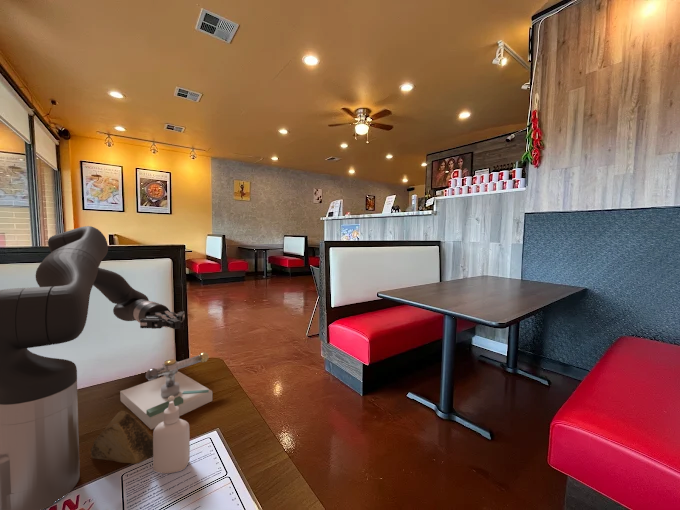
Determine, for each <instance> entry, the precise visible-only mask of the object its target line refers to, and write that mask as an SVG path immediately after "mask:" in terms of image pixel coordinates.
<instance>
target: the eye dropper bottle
mask: <svg viewBox="0 0 680 510" xmlns="http://www.w3.org/2000/svg"><path fill="white" fill-rule="evenodd" d="M189 423H190V422H188V421H187V420H185V419H182V418H180V416H179V407H178V406H175V405H174V401H171V402H169V406H168V408H167V409H165V410H164V421H163V422H161V423H159V424H158V425H157V426H156V428H153V433H152V436H153V456H152V460H153V461H152V462H153V463H152V467H153V471H154V472H156V473H158V474H174V473H177V472H181V471H183V470H185V469H186V468H187V466H188V464H189V462H190V458H191V457H190V456H191V455H190V454H191V453H190V452H191V451H190V450H191V449H190V448H191V446H190V424H189Z"/></svg>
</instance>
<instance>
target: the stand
mask: <svg viewBox="0 0 680 510" xmlns="http://www.w3.org/2000/svg"><path fill="white" fill-rule="evenodd" d="M119 393H120V395H119V396H120V402H121V403H122V404H123V405H124V406H126V408H127V409H128V410H130V411H131V412H132V414H134V415H135V416H136V417H137V419H139V420H140V421H142V422H143V424H144V425H146V426H147V427H148V429H150V430H154V429H155V428H156V426H157V425H158V424H159V423H161V422H163V421H164V410H165V409H167V408H168V406H169V402H171V401H174V405H175V406H178V407H179V417H181V416H183V415H185V414H187V413H189V412H191V411H194V410H196V409H199V408H200V407H202V406H204V405H206V404H208V403H210V402H211V403H212V402H213V390H212V389H209V388H208V387H207V386H204V385H203V384H201V383H199V382H198V381H196V380H194V379H193V378H191V377H189V376H187V375H186V374H184V373H182V372H180V371H178V372H177V373H176V374H175V385H173V386H171V387H166V376H163V375H162V376H161V377H160V376H159V377H157V378H156V379H154V380H148V381H146V382H143V383H140V384H137V385H134V386H131V387H129V388H126V389H123V390H120V391H119Z"/></svg>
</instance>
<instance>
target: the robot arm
mask: <svg viewBox="0 0 680 510" xmlns="http://www.w3.org/2000/svg"><path fill="white" fill-rule="evenodd" d="M47 246H48V249H49V251H50V253H48V254H47V255H46V256H45V258H44V259H43V260H42V261H41V262H40V263H39V265H38V267H36V271H35V281H36V283H37V285H38V286H37V287H36V286H35V287H22V288H21V287H20V288H19V287H18V288H5V289H0V510H45V509H47V508H49V507H50V506H53V505H54V504H55V503H54V502H55V501H57V500H58V499H60V498H62V497H63V496H64V497H65V496H67V495H68V494H69V493H70V492H71V491H73V489H74V488H75V487H76V485H77V483H78V482H79V481H80V470H81V469H80V468H81V465H80V440H79V439H80V438H79V433H80V432H79V407H78V406H79V404H78V401H79V400H78V368H77V365H76V363H75V362H74V361H72V360H69V359H63V358H57V357H56V358H55V357H48V356H43V355H40V354H36V353H35V352H32V351H30V350H29V349H31V348H39V347H40V348H41V347H46V346H51V345H52V346H53V345H59V344H64V343H67V342H71V341H74V340H76V339H77V338H79V336H80V335H81V334H82V333H83V331H84V328H85V326H86V323H87V320H88V319H87V318H88V315H89V313H88V312H89V305H90V296H91V291H92V290H93V289H92V288H93V287H95V288H96V289H97V290H98V291H99V292H100V293H101V294H102V295H104V296H105V298H106V299H107V300H109V302H111V303H112V304H115V305H114V306H113V310H112V312H113V315H114V317H116V318H117V319H120V320H122V321H125V322H133V321H134V322H138V323H139V324H140V326H139V327H140V329H152V330H153V329H154V330H155V329H162V328H169V329H174V330H176V329H181V326H182V323H183V321H185V313H186V312H185V311H184V310H182V311H181V310H180V311H179V312H177V313H176V312H174V311H171V310H170V309H169V308H168V307H167V306H166V305H164V304H162V303H159V302H157V301H156V302H155V301H150V300H149V297H148V296H147V295H146V294H144V293H143V292H140V291H139V290H136V289H134V288H133V287H132V286H131V285H130V284H129V282H128V281H127V280H126V278H125V277H123V276H122V275H120V274H119V273H117V272H114V271H112V270H109V269H105V268H101V267H100V265H101V263H102V261H103V260H104V258H105V257H106V256H107V254H108V252H109V245H108V241H107V239H106V236H105V235H104V234H103V233H102V231H101V230H99V229H98V228H96V227H95V226H91V225H90V226H89V225H87V226H81V227H80V226H79V227H77V228H73V229H70V230H67V231H64V232H63V231H62V232H60V233H56V234H54V235H52V236H50V237H49V238H48V240H47ZM64 497H63V498H64ZM63 498H62V499H63ZM60 500H61V499H60ZM57 502H58V501H57ZM53 503H54V504H53Z"/></svg>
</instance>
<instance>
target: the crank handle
mask: <svg viewBox="0 0 680 510" xmlns="http://www.w3.org/2000/svg"><path fill="white" fill-rule="evenodd" d="M208 360H209V354H208V352H205V351H204V352H203V351H202V352H201V353H199V354H198V355H195V356H192V357H189V358H186V359H183V360H180V361H177V360H176V359H175V358H169V359H167V360H165V361H164V363H163V364H162V366H161V367H158V368H154V367H153V368H152V367H151V368H150V369H148V370H147V371H146V372H145V379H147V380H148V381H151V380H154V379H157V378H159V377H160V376H161V377H163V376H166V387H171V386H173V385H175V374H176V373H177V372H178V370H181V369H183V368H184V369H185V368H187V367H189V366H192V365H196V364H198V363H205V362H207V361H208Z"/></svg>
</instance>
